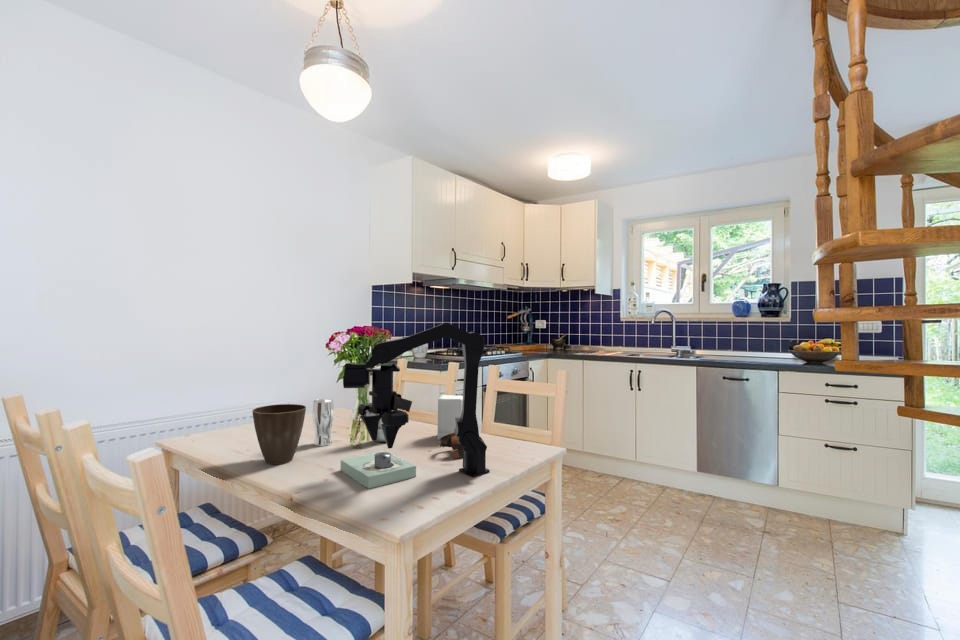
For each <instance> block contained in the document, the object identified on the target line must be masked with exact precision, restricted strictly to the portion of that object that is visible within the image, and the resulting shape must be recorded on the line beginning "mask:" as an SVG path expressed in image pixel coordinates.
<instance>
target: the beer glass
mask: <svg viewBox="0 0 960 640" xmlns="http://www.w3.org/2000/svg"><path fill="white" fill-rule="evenodd" d="M334 406H335V405H334V400H333V399H330V398H323V399H315V400H313V402H312V423H313V428H314V439H313V446H315V447H326V446H325V445H327V446H330V445H329V444H331V445H332V444H333V439H332V429H333V428H332V427H333V421H334V416H335V415H334V414H335V410H334V409H335V408H334Z"/></svg>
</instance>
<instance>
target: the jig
mask: <svg viewBox="0 0 960 640" xmlns="http://www.w3.org/2000/svg"><path fill="white" fill-rule="evenodd" d="M381 452H387V453H390V452H388V451H386V450H382V451H378V452H374V453H373V452H372V453H368V454H363V455H357V456H351V457H348V458H343V459H340V471H341V472H342V471H343V472H342V473H344V474H345V473H346V474H345V475H347V474H348V475H349V476H348V475H347V476H348V477H350V478H351V477H352V479H353V480H355V481H356V480H357V481H356V482H357V483H360V485H362V484H363V485H362V486H363V487H365V488H367V489H368V490H369V489H374V488H377V487H381V486H385V485H388V484H393V483H397V482H400V481H404V480H408V479H412V478H416V477H417V465H415V464H413V463H411V462H409V461H407V460H405V459H402V458H401V457H398V456H397V455H394V454H392V453H390V454H391V468H387V469H375V454H377V453H381Z"/></svg>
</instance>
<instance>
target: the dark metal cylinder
mask: <svg viewBox="0 0 960 640" xmlns="http://www.w3.org/2000/svg"><path fill="white" fill-rule="evenodd" d="M380 452H381V451H380ZM387 452H388V451H386V452H381V453H377V454H375V469H387V468H391V454H392V453H391V454H390V452H388V453H387Z"/></svg>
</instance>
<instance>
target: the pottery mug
mask: <svg viewBox="0 0 960 640" xmlns="http://www.w3.org/2000/svg"><path fill="white" fill-rule="evenodd" d="M439 441H440V444H439V448H451V449H452V450H453V451H452V452H451V456H452V459H453V460H456V459H459V458H463V448H466V447H464V446H462V445H461V444H460V442H459V439H458V437H457V436H456V434H455V433H451V434H448V435H446V436H443V437H442V438H441V439H440V440H439ZM454 450H455V451H454Z"/></svg>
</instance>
